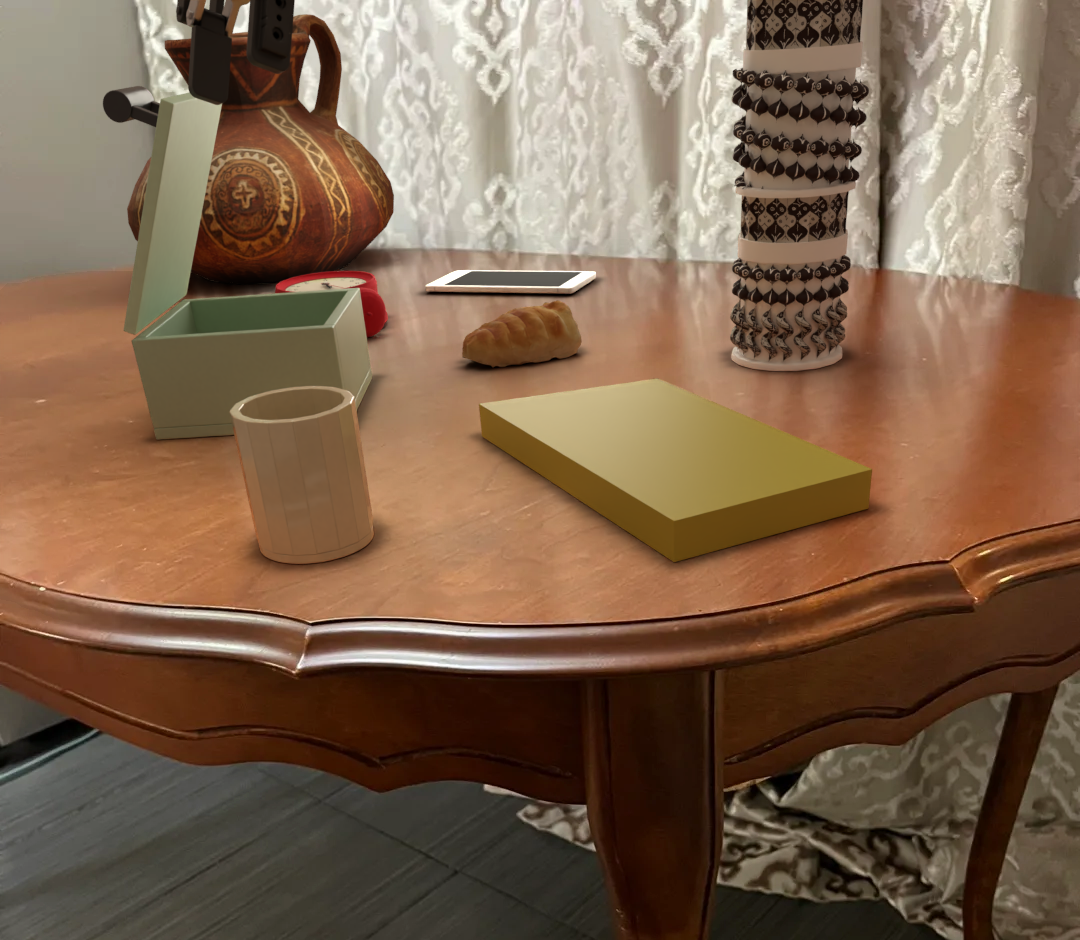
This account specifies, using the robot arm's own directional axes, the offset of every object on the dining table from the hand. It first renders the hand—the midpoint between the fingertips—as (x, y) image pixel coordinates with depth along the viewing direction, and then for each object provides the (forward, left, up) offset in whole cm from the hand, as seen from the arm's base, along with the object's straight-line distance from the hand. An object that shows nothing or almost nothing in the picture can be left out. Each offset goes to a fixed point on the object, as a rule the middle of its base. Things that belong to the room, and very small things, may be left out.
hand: (236, 84), depth 63 cm
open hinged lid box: (-4, +10, -21) cm, 23 cm away
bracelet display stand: (+35, +15, -21) cm, 43 cm away
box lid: (-8, +10, -7) cm, 14 cm away
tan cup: (+4, -16, -21) cm, 27 cm away
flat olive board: (+23, -8, -21) cm, 32 cm away
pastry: (+15, +20, -21) cm, 33 cm away
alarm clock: (-3, +33, -21) cm, 39 cm away
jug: (-16, +67, -21) cm, 72 cm away
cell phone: (+13, +48, -21) cm, 54 cm away
